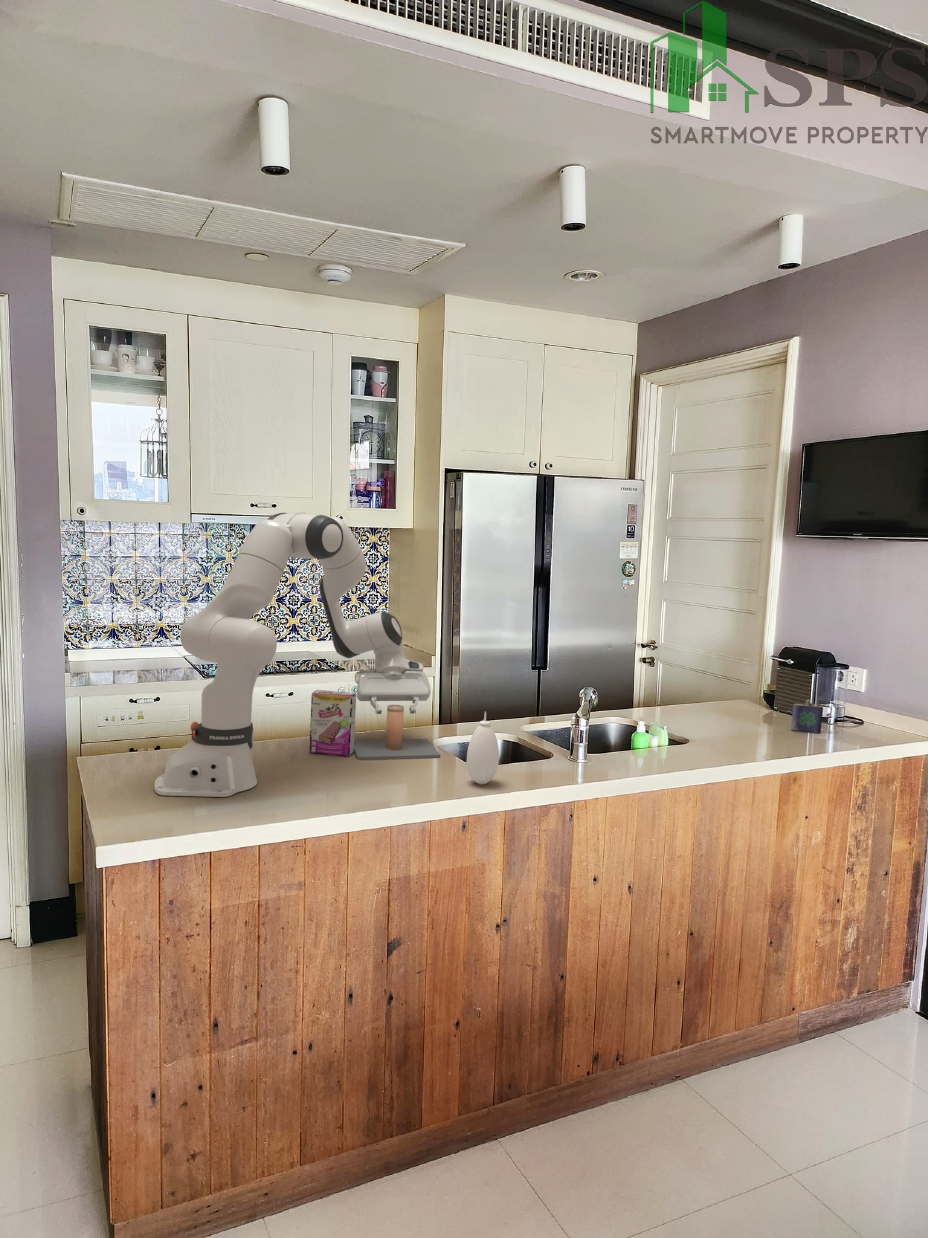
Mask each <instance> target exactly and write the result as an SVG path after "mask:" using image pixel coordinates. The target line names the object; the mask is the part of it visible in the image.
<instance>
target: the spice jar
mask: <svg viewBox="0 0 928 1238" xmlns="http://www.w3.org/2000/svg"><path fill="white" fill-rule="evenodd" d="M386 709H387V710H386V729H385V730H386V731H385V740H386V748H387V749H390V750H399V749H402V740H403V738H404V734H403V733H404V716H405V715H404V714H405V710H404V709H405V707H404V705H400V704H389V705H387V708H386Z"/></svg>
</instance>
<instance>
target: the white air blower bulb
mask: <svg viewBox="0 0 928 1238" xmlns="http://www.w3.org/2000/svg"><path fill="white" fill-rule="evenodd" d="M483 717H484V718H483V720H480V721H479V725H478V726H477V727H476V728H475V730H474V731H473V734H472V736H471V737H470V740H469V743H468V747H467V753H466V766H467V767H466V768H467V771H468V775H469V776H470V778H471V779H472V780H473V781H474V783H476V784H477V785H485V784H487V783H489V782H490V781H491V780H493V778H494V777H495V775H496V774H497V771H498V767H499V763H500V762H499V761H500V750H499V743H498V739H497V737H496V734H495V731H494V729H493V727H492V726H491V722H490V721H488V720H487V711H484V716H483Z"/></svg>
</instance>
